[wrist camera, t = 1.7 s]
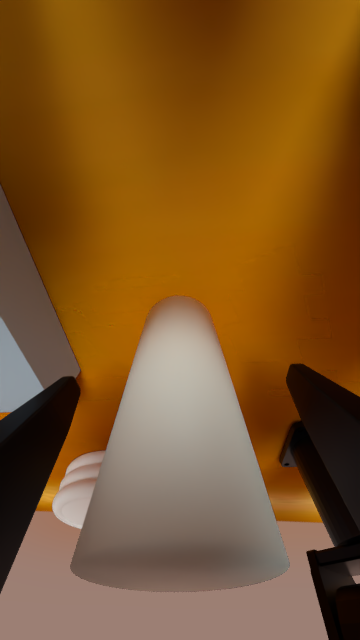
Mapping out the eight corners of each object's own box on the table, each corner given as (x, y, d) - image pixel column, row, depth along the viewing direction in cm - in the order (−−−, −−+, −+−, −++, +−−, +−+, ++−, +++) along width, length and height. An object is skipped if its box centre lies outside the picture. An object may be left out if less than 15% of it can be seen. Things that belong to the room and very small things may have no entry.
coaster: (169, 489, 23) (168, 532, 20) (88, 494, 23) (75, 537, 20) (153, 443, 18) (148, 490, 15) (52, 450, 18) (27, 498, 15)
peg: (211, 351, 12) (270, 589, 5) (150, 354, 12) (103, 594, 5) (212, 293, 10) (318, 534, 3) (140, 298, 11) (29, 543, 3)
